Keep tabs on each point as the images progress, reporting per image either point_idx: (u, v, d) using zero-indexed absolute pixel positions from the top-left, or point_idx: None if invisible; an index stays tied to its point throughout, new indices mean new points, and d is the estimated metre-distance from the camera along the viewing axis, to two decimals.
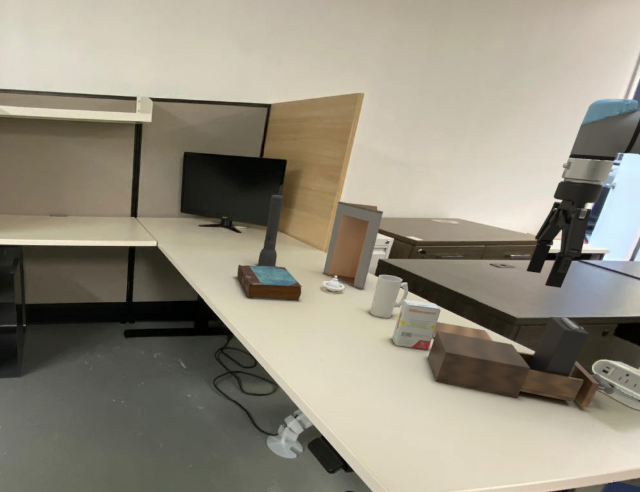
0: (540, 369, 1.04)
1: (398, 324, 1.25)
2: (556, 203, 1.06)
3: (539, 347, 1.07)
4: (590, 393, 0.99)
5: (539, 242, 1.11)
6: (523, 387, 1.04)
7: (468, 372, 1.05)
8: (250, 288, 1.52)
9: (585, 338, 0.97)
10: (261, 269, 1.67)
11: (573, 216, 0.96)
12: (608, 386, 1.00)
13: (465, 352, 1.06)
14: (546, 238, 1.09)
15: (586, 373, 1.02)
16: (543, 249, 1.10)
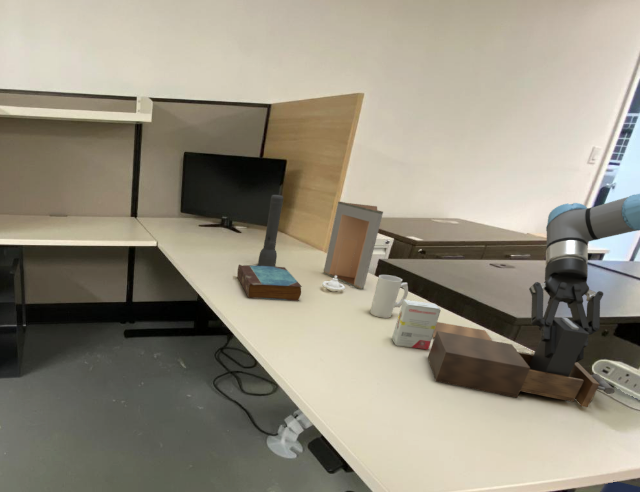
0: (540, 369, 1.04)
1: (398, 324, 1.25)
2: None
3: (539, 347, 1.07)
4: (590, 393, 0.99)
5: None
6: (523, 387, 1.04)
7: (468, 372, 1.05)
8: (250, 288, 1.52)
9: (585, 338, 0.97)
10: (261, 269, 1.67)
11: None
12: (608, 386, 1.00)
13: (465, 352, 1.06)
14: (577, 323, 1.03)
15: (586, 373, 1.02)
16: None
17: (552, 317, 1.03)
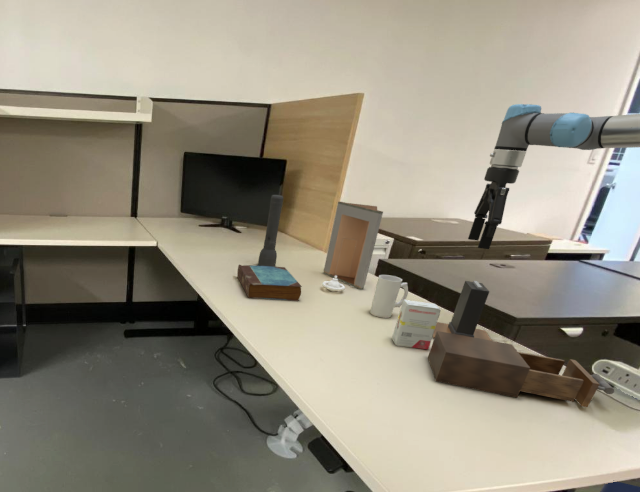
0: (457, 321, 1.33)
1: (398, 324, 1.25)
2: (488, 184, 1.36)
3: (457, 305, 1.36)
4: (590, 393, 0.99)
5: (477, 216, 1.41)
6: (523, 387, 1.04)
7: (468, 372, 1.05)
8: (250, 288, 1.52)
9: (486, 295, 1.26)
10: (261, 269, 1.67)
11: (496, 193, 1.26)
12: (608, 386, 1.00)
13: (465, 352, 1.06)
14: (481, 212, 1.39)
15: (586, 373, 1.02)
16: (479, 221, 1.40)
17: None
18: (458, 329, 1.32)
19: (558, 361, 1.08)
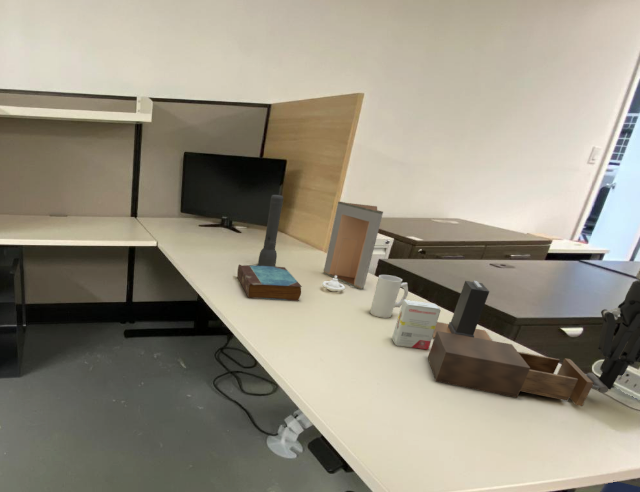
0: (457, 321, 1.33)
1: (398, 324, 1.25)
2: None
3: (457, 305, 1.36)
4: (584, 392, 0.99)
5: (621, 355, 1.01)
6: None
7: (468, 372, 1.05)
8: (250, 288, 1.52)
9: (486, 295, 1.26)
10: (261, 269, 1.67)
11: None
12: (602, 385, 1.01)
13: (465, 352, 1.06)
14: (626, 349, 0.99)
15: (580, 372, 1.02)
16: None
17: (619, 352, 0.99)
18: (458, 329, 1.32)
19: (553, 360, 1.09)
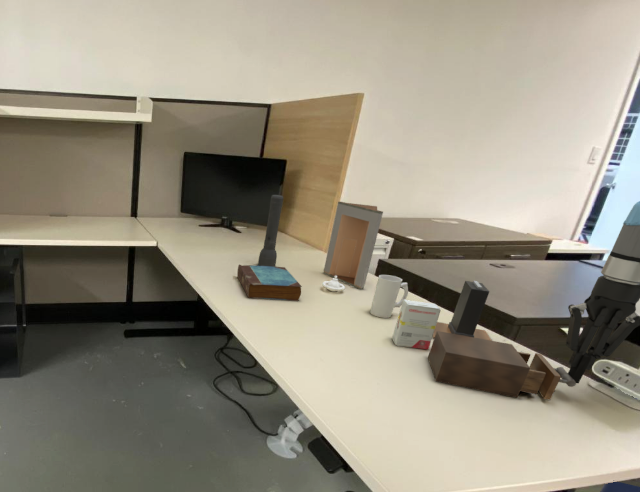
0: (457, 321, 1.33)
1: (398, 324, 1.25)
2: None
3: (457, 305, 1.36)
4: (552, 386, 1.01)
5: (589, 349, 1.02)
6: None
7: (468, 372, 1.05)
8: (250, 288, 1.52)
9: (486, 295, 1.26)
10: (261, 269, 1.67)
11: None
12: (570, 379, 1.02)
13: (465, 352, 1.06)
14: (593, 344, 1.01)
15: (549, 366, 1.04)
16: None
17: (586, 346, 1.00)
18: (458, 329, 1.32)
19: (524, 355, 1.10)
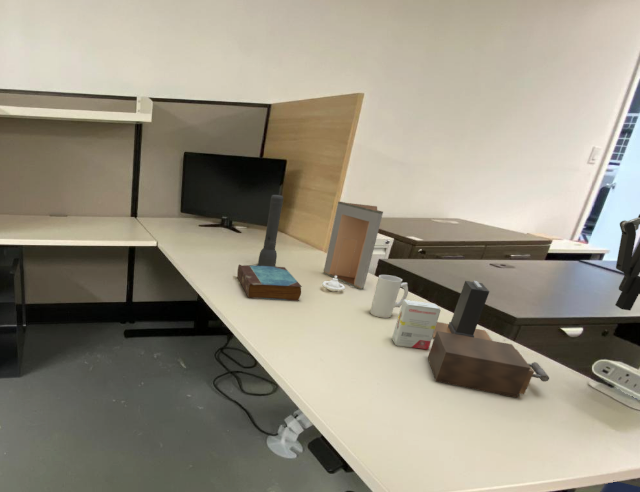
0: (457, 321, 1.33)
1: (398, 324, 1.25)
2: None
3: (457, 305, 1.36)
4: (525, 381, 1.02)
5: None
6: None
7: (468, 372, 1.05)
8: (250, 288, 1.52)
9: (486, 295, 1.26)
10: (261, 269, 1.67)
11: None
12: (544, 374, 1.04)
13: (465, 352, 1.06)
14: None
15: None
16: None
17: None
18: (458, 329, 1.32)
19: None
